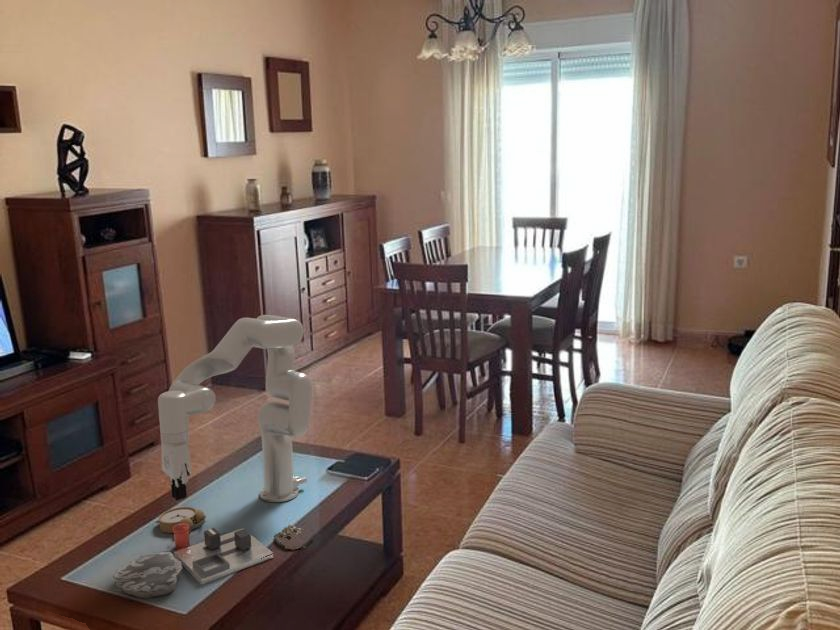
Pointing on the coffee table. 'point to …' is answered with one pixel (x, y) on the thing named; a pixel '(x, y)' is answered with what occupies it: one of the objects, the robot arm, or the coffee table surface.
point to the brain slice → (149, 575)
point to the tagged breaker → (212, 538)
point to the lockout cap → (181, 536)
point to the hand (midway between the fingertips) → (179, 497)
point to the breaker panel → (221, 558)
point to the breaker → (242, 539)
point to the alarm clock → (181, 518)
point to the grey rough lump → (289, 531)
